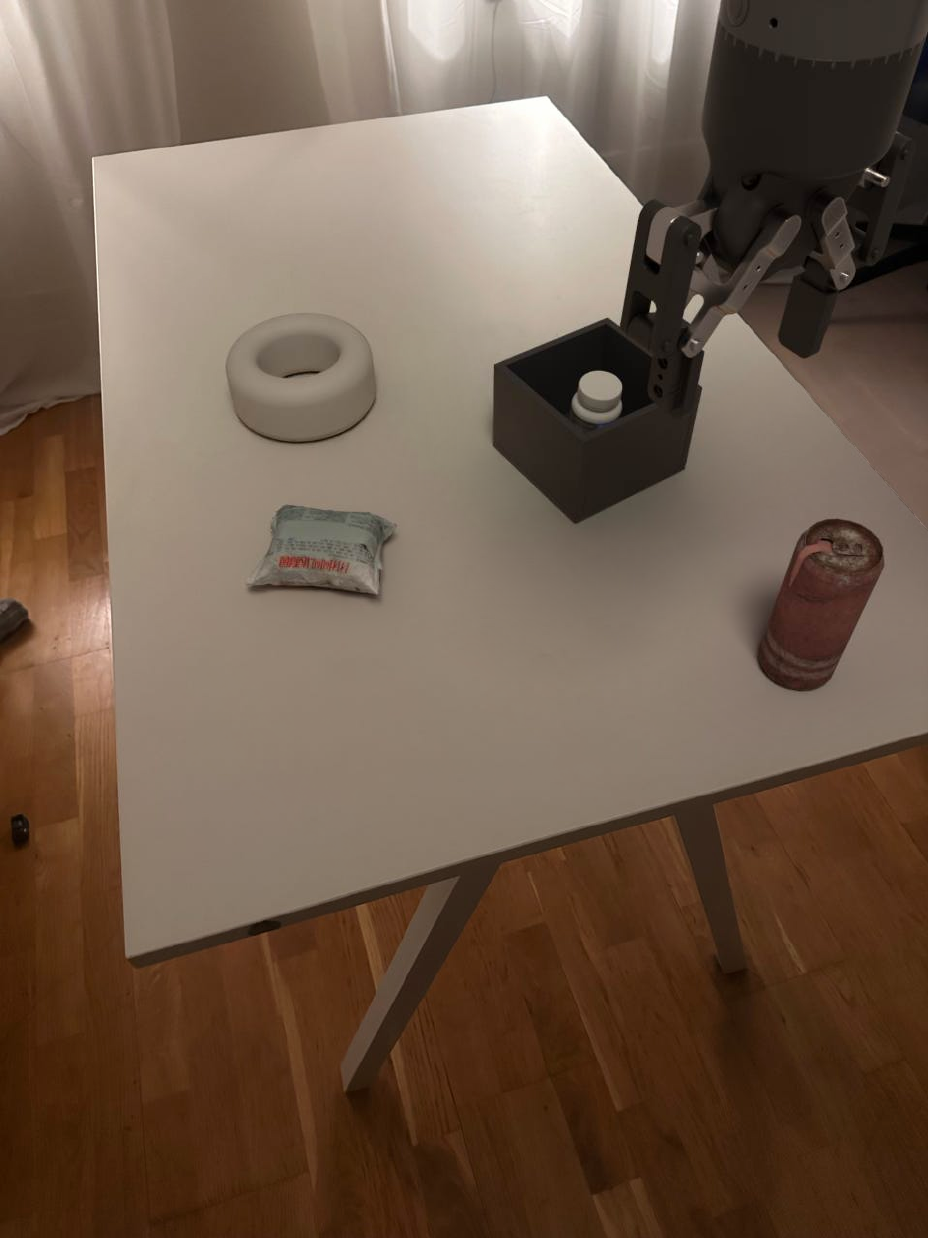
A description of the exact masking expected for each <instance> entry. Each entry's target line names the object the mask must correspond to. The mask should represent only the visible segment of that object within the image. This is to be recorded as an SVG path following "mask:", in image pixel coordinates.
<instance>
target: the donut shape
mask: <svg viewBox="0 0 928 1238" xmlns="http://www.w3.org/2000/svg"><path fill="white" fill-rule="evenodd" d="M305 372H317V373H315V374H312V375H307V376H304V377H303V376H302V377H287V376H290V375H294V374H297V373H305ZM375 373H376V372H375V365H374V355H373V350H372V347H371V344H370V343H369V341H368V339H367V338H366V336H365V335H364V334H363V333H362V332H361V330H359V328H357V327H356V326H354V325H353V324H351V323H350V322H348V321H346V320H344V319H341V318H339V317H336V316H332V315H328V314H323V313H314V312H297V313H288V314H284V315H283V314H282V315H279V316H275V317H272V318H269V319H266V320H263V321H260V322H259V323H256V324H255V325H253V326H252V327H250V328H248V329H247V330H246V331H245V332H243V333H242V334H241V335H240V336H239V337H237V339H236V340H235V341H234V343H233V344H232V345H231V347H230V348H229V351H228V353H227V356H226V361H225V376H226V380H227V384H228V388H229V391H230V396H231V400H232V404H233V408H234V411H235V413H236V414H237V416H238V418H239V419H240V421H242V422H243V424H244V425H246V426H247V427H248V428H249V429H251V430H252V431H254V432H256V433H257V434H259V435H261V436H264V437H267V438H270V439H274V440H276V441H277V440H279V441H284V442H295V443H296V442H297V443H298V442H299V443H300V442H313V441H318V440H323V439H327V438H329V437H330V438H331V437H333V436H335V435H338V434H340V433H342V432H345V431H347V430H348V429H350V428H352V427H353V426H355V425H356V424H357V423H359V422H360V421H361V420H362V419H363V417H365V416H366V414H367V413H368V412H369V411H370V409H371V407H372V405H373V404H374V401H375V397H376V393H377V383H376V374H375Z"/></svg>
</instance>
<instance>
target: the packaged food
mask: <svg viewBox="0 0 928 1238" xmlns="http://www.w3.org/2000/svg"><path fill="white" fill-rule="evenodd" d="M269 524H270V530H272V532H273V536H272V538H271V541H270V542H269V546H268V550H267V552H266V553H265V555H263V558H262V559H261V560H260V562H259V563H258V564H257V566H256V567H255V568H254V570H252V572H251V573H250V574H249V576H248V577H247V578H246V580H245V583H244V584H245V585H246V586H247V587H248V586H249V587H253V586H264V585H268V584H269V585H272V586H314V587H323V588H327V589H337V590H345V591H352V592H358V593H363V594H365V593H368V594H369V595H370V594H374V595H379V591H380V583H379V576H380V575H379V570H383V569H384V566H383V563H382V548H383V544H384V541H386V540H387V539H388V537H389V536H391V535H392V534H393V532H394V531H396V530H397V527H398V526H397V524H396V523H393V522H391V521H390V520H388V519H386V518H384V517H382V516H379V515H378V514H375V513H373V512H370V511H345V510H343V511H342V510H341V511H340V510H333V509H326V510H325V509H319V508H315V507H307V506H303V505H301V506H299V505H294V504H284V505H282V506H281V507H280V508H279V509H278V510H277V511H275V515H274V516H272V517H271V519H270V520H269Z"/></svg>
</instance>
